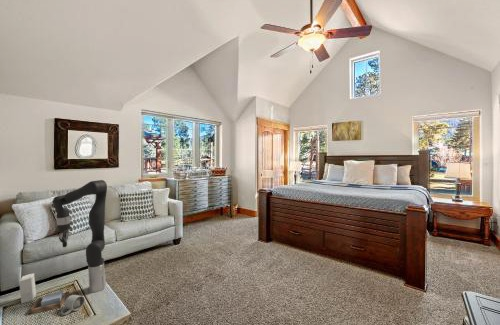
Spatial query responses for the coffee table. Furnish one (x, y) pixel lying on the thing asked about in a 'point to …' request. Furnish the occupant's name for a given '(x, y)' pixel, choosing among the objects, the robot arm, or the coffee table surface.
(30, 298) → the skincare box
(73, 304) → the ceramic mug
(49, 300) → the slate carton
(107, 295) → the coffee table surface
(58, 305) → the display bay
